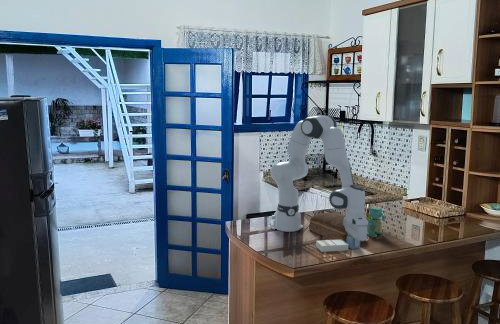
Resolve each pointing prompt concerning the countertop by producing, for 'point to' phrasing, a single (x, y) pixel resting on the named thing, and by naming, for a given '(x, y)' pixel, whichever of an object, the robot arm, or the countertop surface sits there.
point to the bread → (329, 226)
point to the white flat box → (331, 245)
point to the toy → (374, 221)
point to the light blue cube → (352, 242)
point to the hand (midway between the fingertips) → (353, 243)
